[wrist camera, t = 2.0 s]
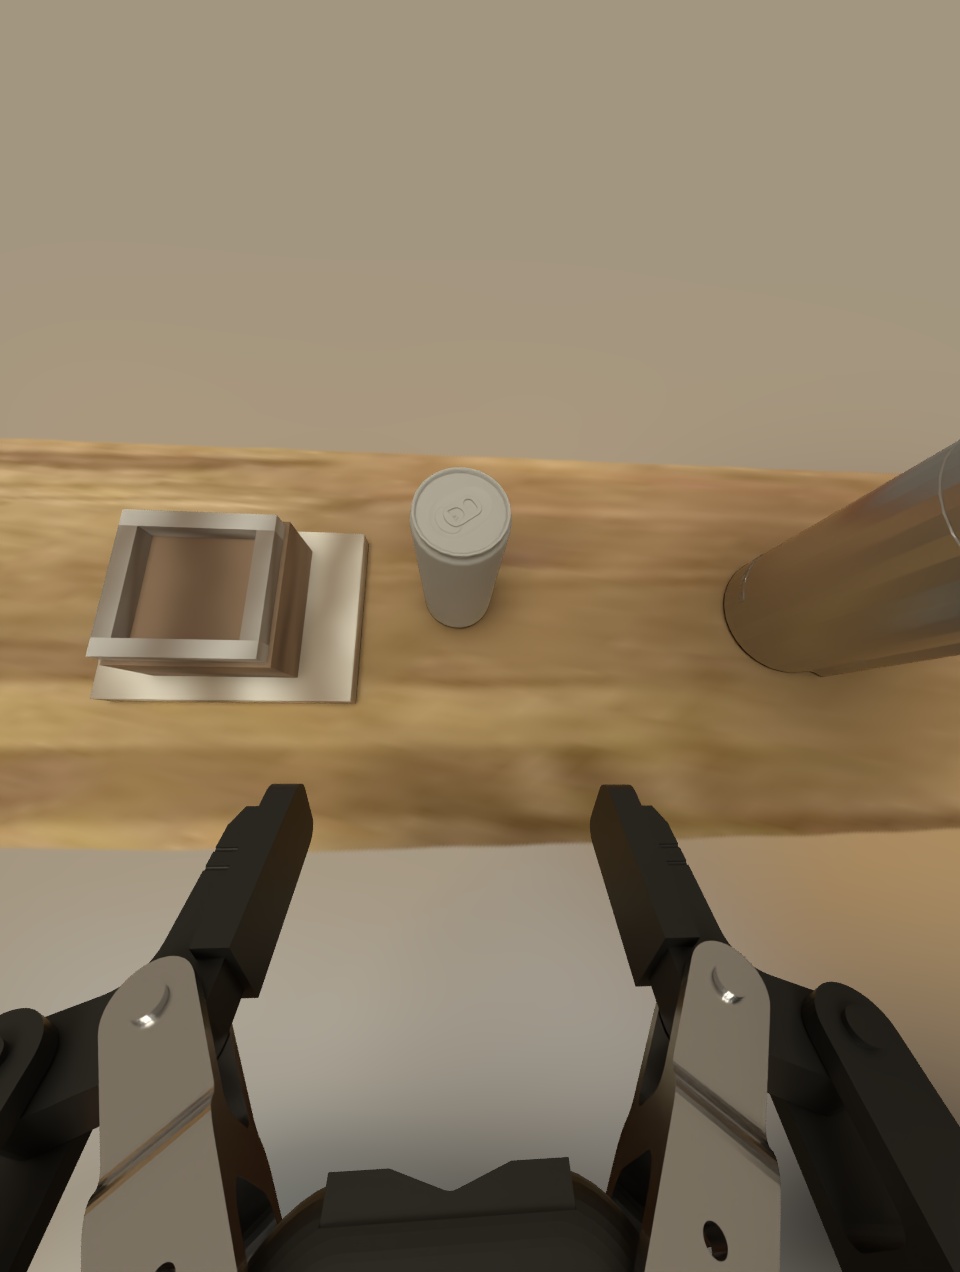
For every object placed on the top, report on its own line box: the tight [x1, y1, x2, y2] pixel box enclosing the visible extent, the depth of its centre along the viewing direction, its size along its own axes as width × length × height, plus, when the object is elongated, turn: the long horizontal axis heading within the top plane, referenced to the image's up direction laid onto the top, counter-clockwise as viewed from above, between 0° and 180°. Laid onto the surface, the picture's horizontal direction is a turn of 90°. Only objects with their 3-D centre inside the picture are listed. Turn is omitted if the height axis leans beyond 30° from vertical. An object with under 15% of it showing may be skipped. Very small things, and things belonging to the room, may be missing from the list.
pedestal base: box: [86, 509, 369, 703], centre depth 25 cm, size 16×12×7 cm
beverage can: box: [410, 467, 511, 627], centre depth 24 cm, size 5×5×12 cm
